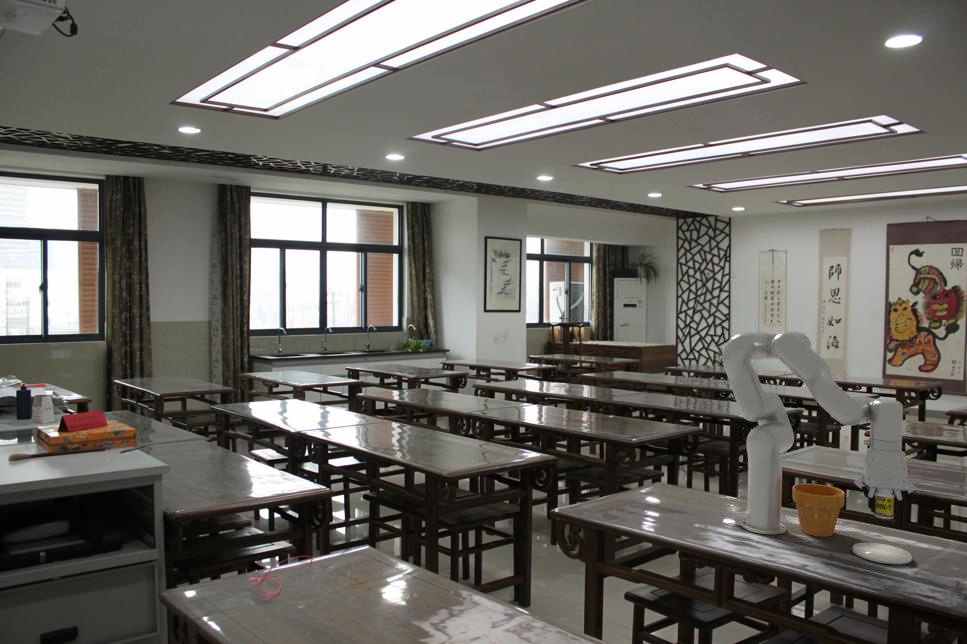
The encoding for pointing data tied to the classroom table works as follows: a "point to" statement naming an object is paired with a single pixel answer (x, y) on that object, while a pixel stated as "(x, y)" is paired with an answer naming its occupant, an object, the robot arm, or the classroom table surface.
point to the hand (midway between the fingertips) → (883, 511)
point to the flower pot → (818, 508)
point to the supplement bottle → (884, 503)
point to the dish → (882, 553)
